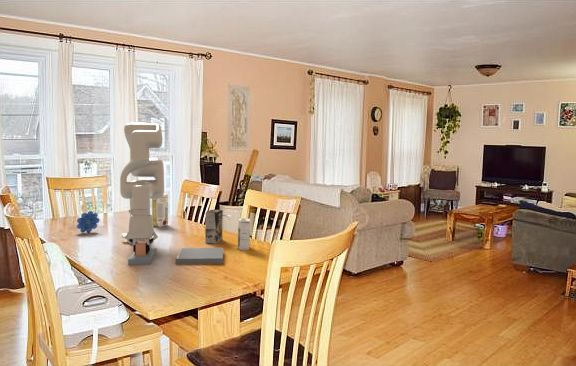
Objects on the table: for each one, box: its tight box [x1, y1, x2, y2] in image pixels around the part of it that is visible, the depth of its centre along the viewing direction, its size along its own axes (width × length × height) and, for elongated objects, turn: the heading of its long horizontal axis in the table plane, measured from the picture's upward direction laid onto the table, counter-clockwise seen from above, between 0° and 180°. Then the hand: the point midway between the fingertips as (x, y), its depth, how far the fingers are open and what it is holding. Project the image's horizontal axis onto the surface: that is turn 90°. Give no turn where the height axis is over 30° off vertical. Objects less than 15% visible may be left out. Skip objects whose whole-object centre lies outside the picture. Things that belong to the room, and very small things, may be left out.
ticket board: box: [174, 247, 224, 265], centre depth 208 cm, size 20×18×3 cm
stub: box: [127, 241, 158, 266], centre depth 205 cm, size 9×18×7 cm, turn 7°
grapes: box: [76, 210, 100, 233], centre depth 254 cm, size 12×7×12 cm, turn 121°
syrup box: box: [237, 217, 251, 251], centre depth 227 cm, size 6×6×14 cm
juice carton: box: [151, 193, 169, 228], centre depth 275 cm, size 8×9×19 cm
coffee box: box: [204, 209, 224, 244], centre depth 240 cm, size 9×6×16 cm
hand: (141, 252), depth 205 cm, fingers closed on stub, 4 cm apart
